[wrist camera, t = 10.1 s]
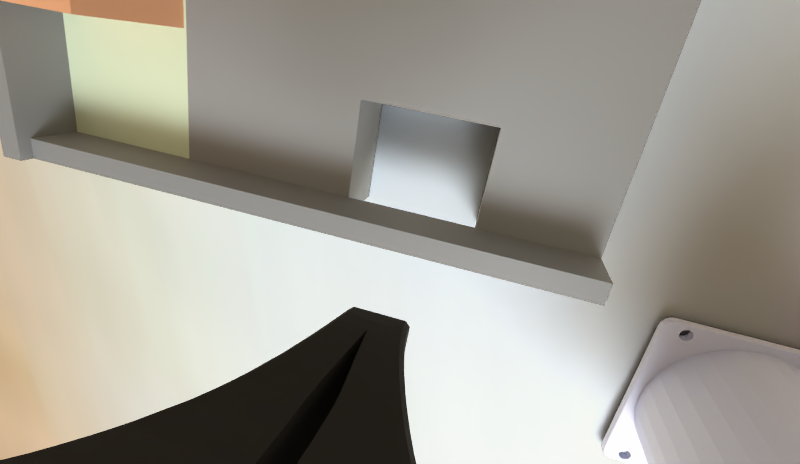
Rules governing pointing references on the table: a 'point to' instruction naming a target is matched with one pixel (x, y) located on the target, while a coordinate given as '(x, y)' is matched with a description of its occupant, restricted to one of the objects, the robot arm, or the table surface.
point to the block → (118, 9)
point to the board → (360, 113)
